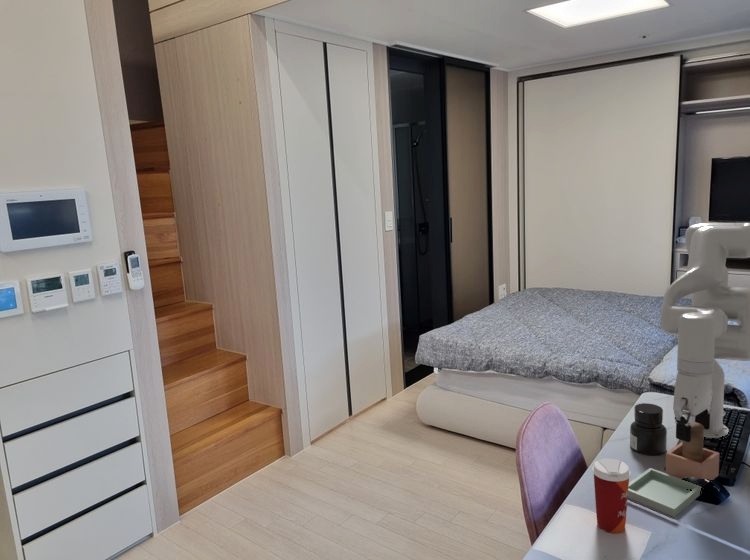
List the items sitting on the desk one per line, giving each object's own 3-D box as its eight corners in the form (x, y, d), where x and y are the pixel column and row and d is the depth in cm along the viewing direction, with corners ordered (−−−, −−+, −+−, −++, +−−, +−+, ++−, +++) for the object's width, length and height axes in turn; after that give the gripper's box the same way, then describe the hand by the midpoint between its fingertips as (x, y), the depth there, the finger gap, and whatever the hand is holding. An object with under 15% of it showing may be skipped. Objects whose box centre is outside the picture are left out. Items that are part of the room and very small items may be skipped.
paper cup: (634, 537, 119) (634, 476, 116) (595, 535, 120) (595, 474, 118) (625, 515, 126) (626, 457, 124) (589, 513, 128) (589, 456, 125)
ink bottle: (636, 438, 160) (636, 398, 158) (670, 447, 154) (671, 405, 152) (624, 452, 153) (625, 411, 151) (660, 462, 147) (661, 418, 145)
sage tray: (650, 476, 141) (650, 467, 140) (701, 496, 131) (701, 486, 131) (621, 497, 133) (621, 487, 133) (674, 519, 124) (674, 509, 123)
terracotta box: (681, 464, 145) (682, 441, 144) (718, 477, 138) (719, 452, 137) (665, 477, 140) (665, 453, 139) (702, 491, 133) (703, 465, 132)
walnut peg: (686, 468, 142) (688, 420, 139) (705, 475, 138) (707, 425, 136) (678, 475, 139) (679, 425, 137) (697, 482, 136) (698, 431, 133)
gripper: (695, 354, 142) (693, 419, 144) (661, 370, 131) (659, 440, 134) (728, 360, 136) (725, 427, 138) (695, 378, 125) (692, 450, 128)
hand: (692, 433), depth 136 cm, fingers open, 9 cm apart
